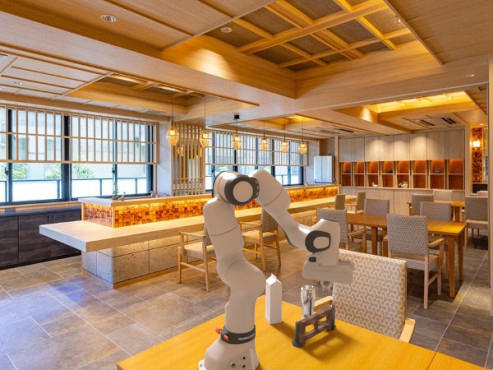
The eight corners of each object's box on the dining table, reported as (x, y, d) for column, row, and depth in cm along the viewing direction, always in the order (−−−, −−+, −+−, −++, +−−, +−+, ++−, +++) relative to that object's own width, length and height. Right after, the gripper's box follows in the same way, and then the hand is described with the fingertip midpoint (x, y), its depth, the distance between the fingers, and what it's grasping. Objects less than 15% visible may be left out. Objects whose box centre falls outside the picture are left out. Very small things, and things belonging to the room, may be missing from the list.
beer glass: (314, 314, 162) (314, 285, 161) (315, 321, 155) (316, 290, 154) (299, 313, 163) (300, 284, 162) (300, 320, 156) (301, 289, 155)
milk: (269, 324, 152) (270, 278, 150) (265, 318, 158) (265, 273, 156) (281, 322, 154) (282, 276, 152) (276, 316, 160) (277, 272, 158)
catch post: (297, 348, 133) (297, 326, 132) (289, 342, 137) (289, 321, 137) (306, 344, 135) (307, 323, 135) (298, 339, 140) (299, 318, 139)
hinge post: (329, 332, 146) (329, 308, 145) (316, 324, 152) (317, 301, 151) (338, 328, 149) (339, 305, 148) (326, 321, 155) (326, 298, 155)
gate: (328, 327, 148) (328, 307, 147) (333, 329, 146) (333, 309, 145) (298, 343, 135) (299, 320, 134) (303, 346, 133) (304, 323, 132)
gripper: (354, 258, 135) (352, 291, 135) (303, 253, 140) (302, 285, 141) (355, 262, 128) (353, 297, 129) (302, 257, 134) (300, 290, 135)
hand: (326, 291), depth 135 cm, fingers closed
